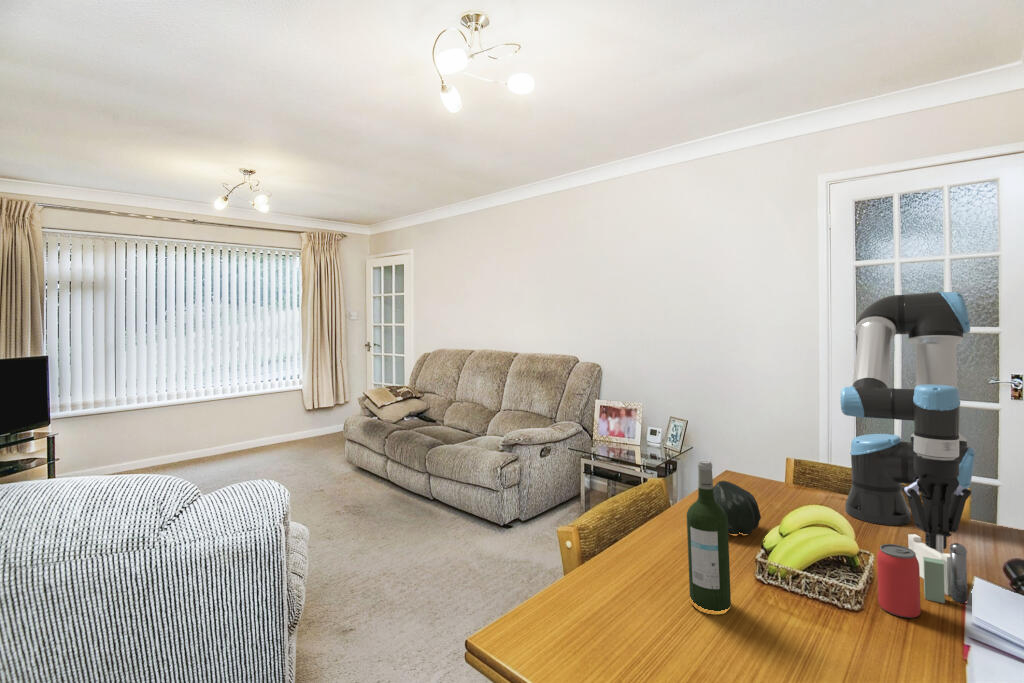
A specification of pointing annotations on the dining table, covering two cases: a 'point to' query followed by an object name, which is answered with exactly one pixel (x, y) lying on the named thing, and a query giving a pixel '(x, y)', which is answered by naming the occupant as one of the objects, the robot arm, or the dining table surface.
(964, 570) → the hinge post
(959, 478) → the robot arm
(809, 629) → the dining table surface
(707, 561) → the wine bottle
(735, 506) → the squash
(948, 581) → the gate
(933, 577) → the block
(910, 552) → the beer can
